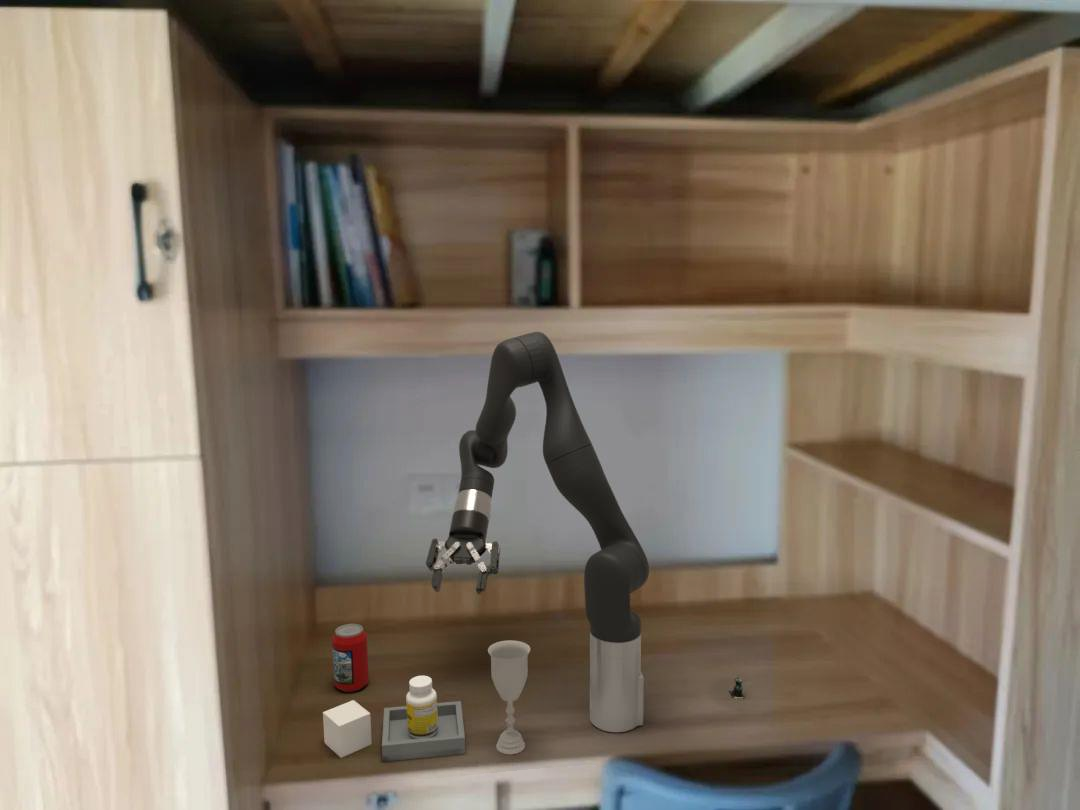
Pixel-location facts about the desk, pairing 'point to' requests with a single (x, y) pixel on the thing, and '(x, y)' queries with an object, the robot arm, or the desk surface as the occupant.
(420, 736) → the supplement bottle
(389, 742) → the tray
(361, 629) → the beverage can
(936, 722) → the desk surface
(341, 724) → the white cube
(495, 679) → the chalice
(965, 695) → the desk surface
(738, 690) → the sculpture
